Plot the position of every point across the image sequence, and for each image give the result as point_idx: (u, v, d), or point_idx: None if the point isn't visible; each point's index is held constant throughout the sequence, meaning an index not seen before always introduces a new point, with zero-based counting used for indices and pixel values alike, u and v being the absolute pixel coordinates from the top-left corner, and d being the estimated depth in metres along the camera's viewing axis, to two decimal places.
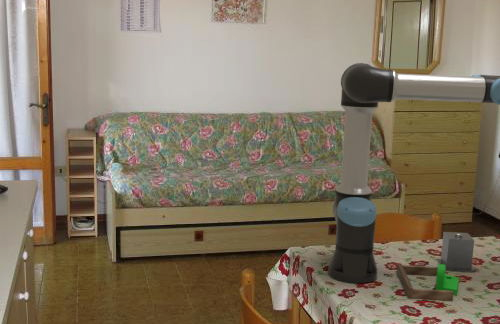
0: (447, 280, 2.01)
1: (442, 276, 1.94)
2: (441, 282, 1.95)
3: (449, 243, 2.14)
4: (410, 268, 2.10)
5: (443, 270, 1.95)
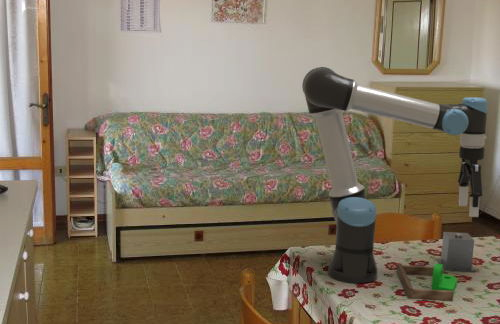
0: (445, 280, 2.01)
1: (438, 275, 1.95)
2: (437, 281, 1.95)
3: (449, 243, 2.14)
4: (410, 268, 2.10)
5: (439, 269, 1.95)
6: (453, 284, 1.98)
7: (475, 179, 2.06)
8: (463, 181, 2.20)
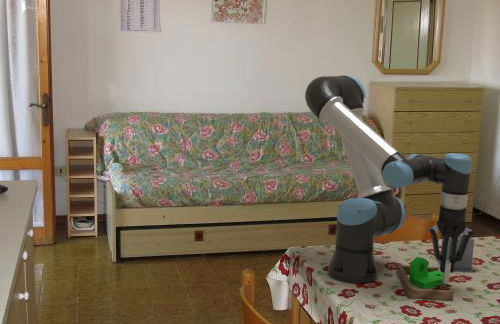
0: (432, 276, 2.04)
1: (414, 267, 2.01)
2: (413, 273, 2.01)
3: (449, 243, 2.14)
4: None
5: (416, 262, 2.01)
6: (433, 280, 2.00)
7: None
8: (450, 251, 1.99)
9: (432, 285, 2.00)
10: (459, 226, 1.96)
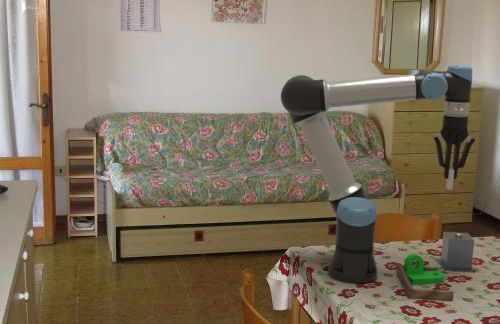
0: (428, 274, 2.05)
1: (406, 263, 2.04)
2: (406, 269, 2.05)
3: (449, 243, 2.14)
4: None
5: (409, 258, 2.04)
6: (425, 278, 2.02)
7: (437, 150, 2.12)
8: (453, 159, 2.12)
9: (423, 282, 2.02)
10: (461, 133, 2.08)
